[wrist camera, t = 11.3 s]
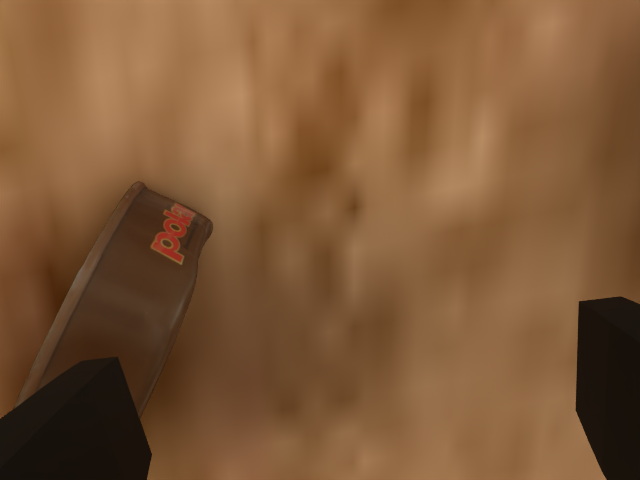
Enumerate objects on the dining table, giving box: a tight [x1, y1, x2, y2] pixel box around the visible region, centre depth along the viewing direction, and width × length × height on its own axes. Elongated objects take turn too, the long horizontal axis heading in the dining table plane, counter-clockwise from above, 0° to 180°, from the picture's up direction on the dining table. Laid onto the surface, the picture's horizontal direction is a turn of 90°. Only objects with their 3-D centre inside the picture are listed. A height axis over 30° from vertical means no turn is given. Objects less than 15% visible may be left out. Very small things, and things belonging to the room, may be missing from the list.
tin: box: [14, 181, 213, 419], centre depth 18 cm, size 15×3×8 cm, turn 152°
